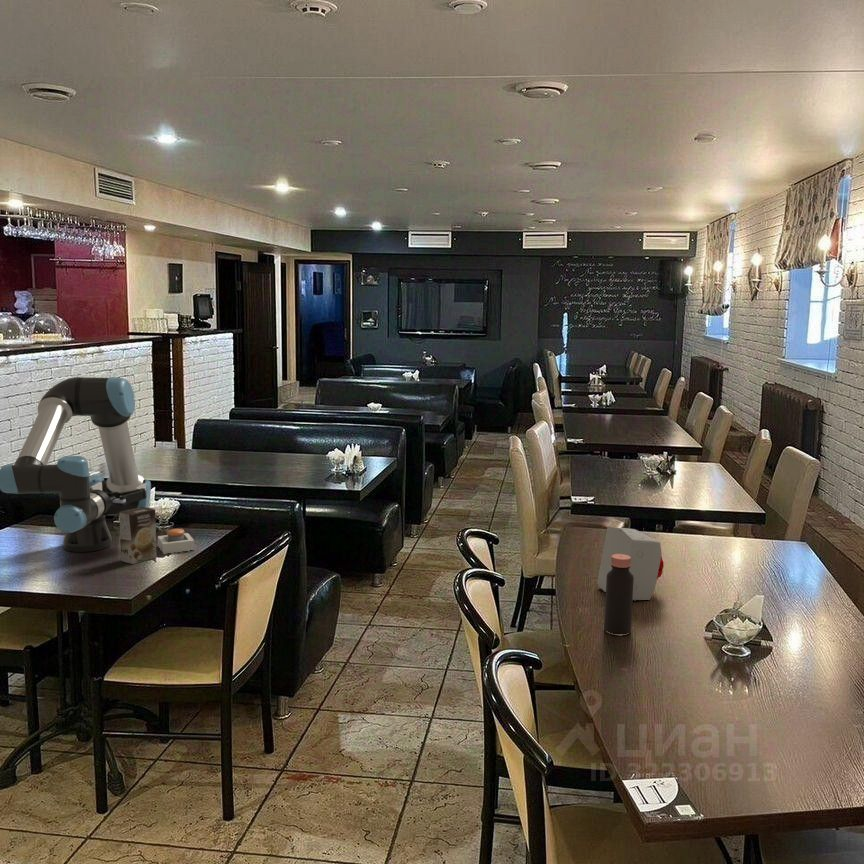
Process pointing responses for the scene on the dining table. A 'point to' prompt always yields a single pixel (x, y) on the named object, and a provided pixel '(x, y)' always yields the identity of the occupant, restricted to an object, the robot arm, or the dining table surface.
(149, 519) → the coffee box
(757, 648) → the dining table surface
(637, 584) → the electrical switch box
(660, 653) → the dining table surface
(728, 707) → the dining table surface
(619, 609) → the bottle
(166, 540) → the breaker housing
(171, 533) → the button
